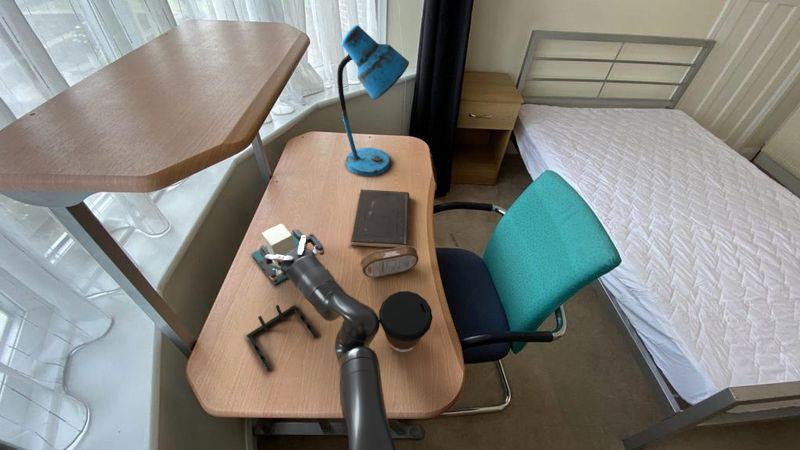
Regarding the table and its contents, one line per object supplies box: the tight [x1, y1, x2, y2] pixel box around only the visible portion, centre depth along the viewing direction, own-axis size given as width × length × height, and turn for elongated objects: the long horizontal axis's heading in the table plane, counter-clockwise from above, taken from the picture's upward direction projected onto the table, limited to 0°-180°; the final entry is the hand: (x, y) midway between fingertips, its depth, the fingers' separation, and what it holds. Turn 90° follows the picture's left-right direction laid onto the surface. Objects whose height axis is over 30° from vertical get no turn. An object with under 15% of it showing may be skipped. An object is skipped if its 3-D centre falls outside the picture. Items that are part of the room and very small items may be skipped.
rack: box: [246, 304, 318, 372], centre depth 70 cm, size 12×10×6 cm
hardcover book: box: [350, 188, 410, 249], centre depth 99 cm, size 16×23×2 cm
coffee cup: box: [378, 290, 433, 353], centre depth 69 cm, size 11×11×12 cm
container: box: [261, 223, 296, 262], centre depth 84 cm, size 6×6×9 cm
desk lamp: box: [336, 24, 410, 177], centre depth 105 cm, size 16×22×45 cm
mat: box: [251, 233, 300, 286], centre depth 88 cm, size 12×13×1 cm
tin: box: [360, 245, 419, 279], centre depth 83 cm, size 15×3×8 cm, turn 106°
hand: (278, 239), depth 81 cm, fingers open, 8 cm apart
